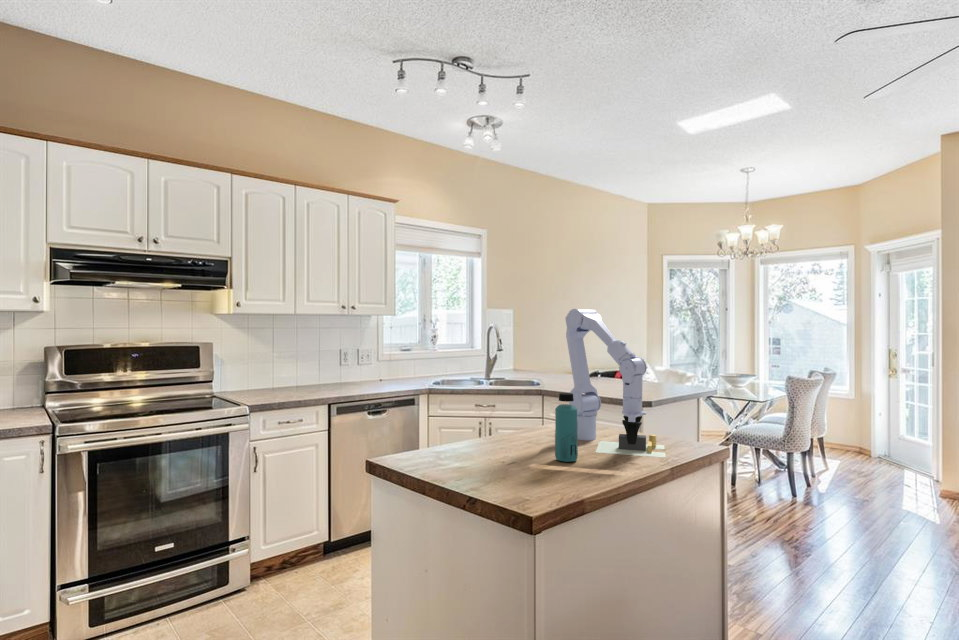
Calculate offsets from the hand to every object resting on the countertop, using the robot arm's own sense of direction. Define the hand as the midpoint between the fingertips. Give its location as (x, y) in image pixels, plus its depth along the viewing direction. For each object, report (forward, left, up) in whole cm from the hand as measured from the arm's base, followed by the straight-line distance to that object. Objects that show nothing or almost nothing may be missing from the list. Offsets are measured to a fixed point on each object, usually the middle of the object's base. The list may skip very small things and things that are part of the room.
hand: (632, 441), depth 170 cm
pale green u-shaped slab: (0, 0, -3) cm, 3 cm away
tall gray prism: (0, 0, -2) cm, 2 cm away
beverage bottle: (-17, -20, -4) cm, 27 cm away
